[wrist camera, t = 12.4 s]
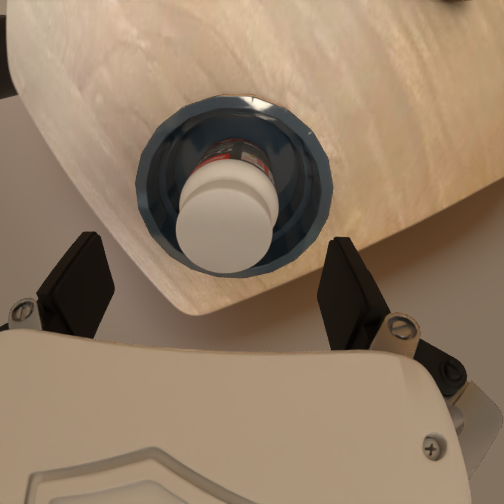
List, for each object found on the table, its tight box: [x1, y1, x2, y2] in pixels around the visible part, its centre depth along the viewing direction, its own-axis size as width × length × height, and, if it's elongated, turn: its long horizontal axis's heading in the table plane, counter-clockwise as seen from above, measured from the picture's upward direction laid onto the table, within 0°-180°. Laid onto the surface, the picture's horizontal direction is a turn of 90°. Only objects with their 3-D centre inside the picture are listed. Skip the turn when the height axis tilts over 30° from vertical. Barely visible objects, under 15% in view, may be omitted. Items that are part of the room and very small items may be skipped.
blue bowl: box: [135, 94, 333, 278], centre depth 20 cm, size 13×13×6 cm
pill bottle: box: [176, 138, 279, 273], centre depth 18 cm, size 6×6×10 cm
